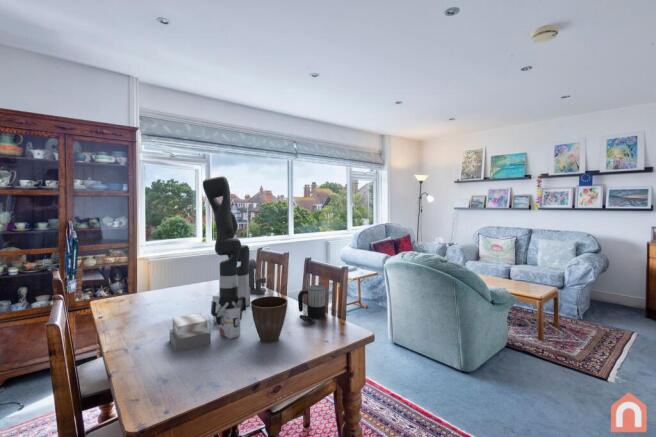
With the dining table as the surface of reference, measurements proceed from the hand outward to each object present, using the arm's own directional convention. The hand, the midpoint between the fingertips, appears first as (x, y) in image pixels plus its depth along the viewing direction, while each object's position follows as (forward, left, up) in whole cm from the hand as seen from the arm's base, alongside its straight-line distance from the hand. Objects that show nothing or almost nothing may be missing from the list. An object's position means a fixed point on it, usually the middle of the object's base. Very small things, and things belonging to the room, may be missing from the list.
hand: (229, 322), depth 142 cm
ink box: (0, 0, -6) cm, 6 cm away
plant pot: (-12, +14, -6) cm, 19 cm away
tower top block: (+15, -2, -1) cm, 15 cm away
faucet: (-33, -60, -6) cm, 69 cm away
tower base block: (+15, -2, -6) cm, 17 cm away
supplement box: (-3, -19, -6) cm, 20 cm away
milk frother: (-39, +4, -6) cm, 40 cm away
